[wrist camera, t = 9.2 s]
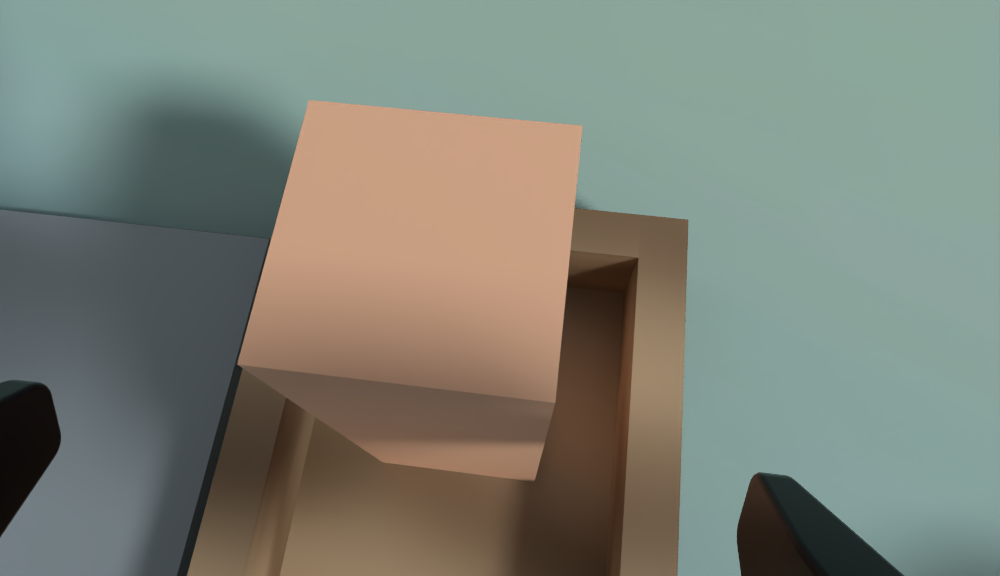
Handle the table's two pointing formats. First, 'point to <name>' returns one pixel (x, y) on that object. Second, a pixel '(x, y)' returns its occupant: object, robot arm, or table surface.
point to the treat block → (421, 284)
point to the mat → (122, 384)
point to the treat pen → (478, 498)
